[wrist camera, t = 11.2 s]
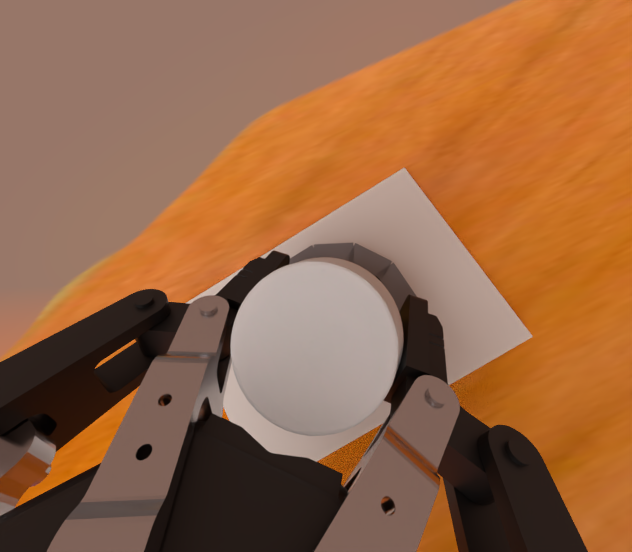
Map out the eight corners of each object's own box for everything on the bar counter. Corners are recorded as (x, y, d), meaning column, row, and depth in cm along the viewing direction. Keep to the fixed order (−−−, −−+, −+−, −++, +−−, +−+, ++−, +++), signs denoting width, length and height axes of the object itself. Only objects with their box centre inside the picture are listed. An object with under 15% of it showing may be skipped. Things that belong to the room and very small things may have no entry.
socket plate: (401, 174, 19) (414, 139, 15) (522, 335, 17) (575, 341, 13) (186, 308, 20) (146, 306, 16) (267, 482, 17) (243, 532, 13)
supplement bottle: (304, 271, 16) (241, 208, 6) (389, 293, 15) (457, 259, 6) (279, 355, 15) (170, 420, 6) (366, 383, 14) (400, 514, 5)
